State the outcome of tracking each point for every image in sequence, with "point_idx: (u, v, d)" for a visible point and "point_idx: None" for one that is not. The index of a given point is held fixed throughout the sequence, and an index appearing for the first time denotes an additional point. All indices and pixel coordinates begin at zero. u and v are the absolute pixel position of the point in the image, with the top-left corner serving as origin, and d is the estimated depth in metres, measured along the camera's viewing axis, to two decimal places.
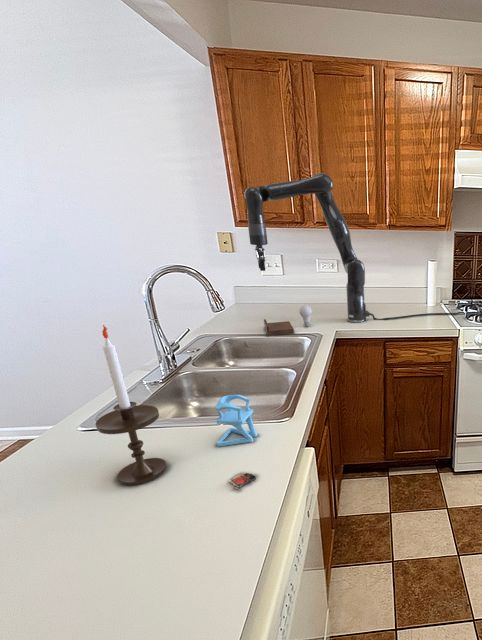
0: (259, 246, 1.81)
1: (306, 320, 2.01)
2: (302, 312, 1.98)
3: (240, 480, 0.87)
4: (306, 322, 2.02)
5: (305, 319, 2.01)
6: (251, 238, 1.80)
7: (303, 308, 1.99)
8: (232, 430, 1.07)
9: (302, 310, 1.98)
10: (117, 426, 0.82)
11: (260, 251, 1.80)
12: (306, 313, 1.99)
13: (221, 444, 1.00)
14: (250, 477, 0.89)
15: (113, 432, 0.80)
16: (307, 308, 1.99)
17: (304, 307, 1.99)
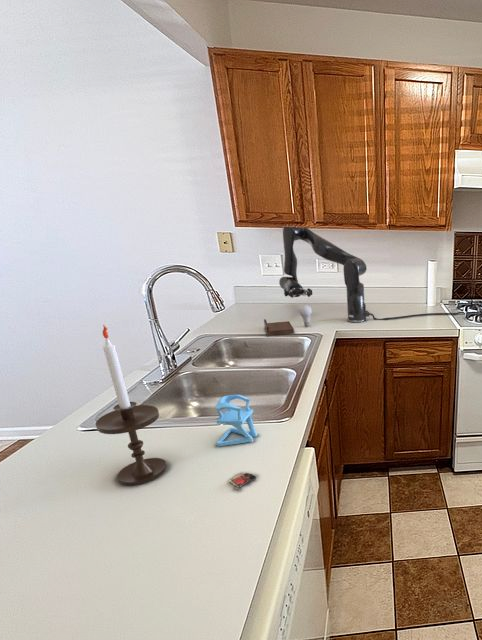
0: None
1: (306, 320, 2.01)
2: (302, 312, 1.98)
3: (240, 480, 0.87)
4: (306, 322, 2.02)
5: (305, 319, 2.01)
6: None
7: (303, 308, 1.99)
8: (232, 430, 1.07)
9: (302, 310, 1.98)
10: (117, 426, 0.82)
11: (284, 292, 2.12)
12: (306, 313, 1.99)
13: (221, 444, 1.00)
14: (250, 477, 0.89)
15: (113, 432, 0.80)
16: (307, 308, 1.99)
17: (304, 307, 1.99)
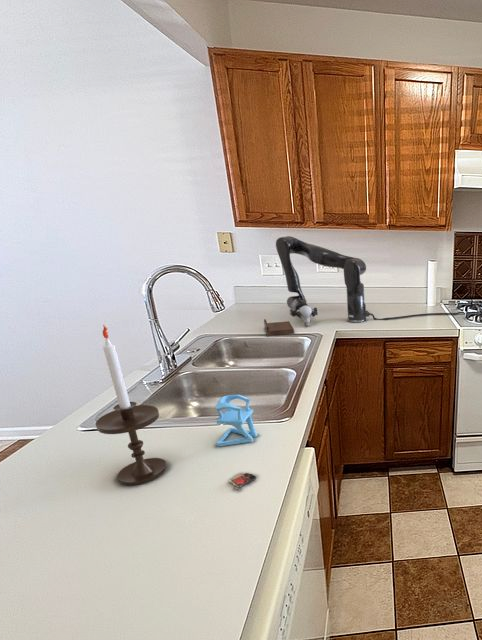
0: None
1: (306, 320, 2.01)
2: (302, 312, 1.98)
3: (240, 480, 0.87)
4: (306, 322, 2.02)
5: (305, 319, 2.01)
6: None
7: (303, 308, 1.99)
8: (232, 430, 1.07)
9: (302, 310, 1.98)
10: (117, 426, 0.82)
11: (290, 312, 2.04)
12: (306, 313, 1.99)
13: (221, 444, 1.00)
14: (250, 477, 0.89)
15: (113, 432, 0.80)
16: (307, 308, 1.99)
17: (304, 307, 1.99)
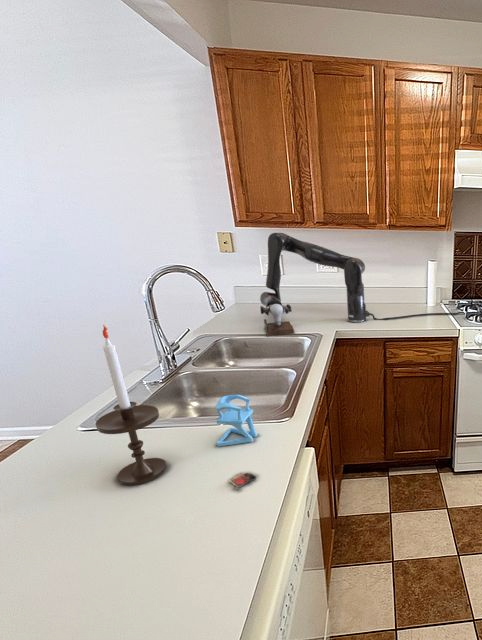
0: None
1: (277, 319, 1.92)
2: (272, 311, 1.89)
3: (240, 480, 0.87)
4: (277, 321, 1.93)
5: (276, 318, 1.92)
6: None
7: (273, 306, 1.89)
8: (232, 430, 1.07)
9: (272, 309, 1.89)
10: (117, 426, 0.82)
11: None
12: (276, 311, 1.89)
13: (221, 444, 1.00)
14: (250, 477, 0.89)
15: (113, 432, 0.80)
16: (278, 306, 1.90)
17: (274, 305, 1.90)
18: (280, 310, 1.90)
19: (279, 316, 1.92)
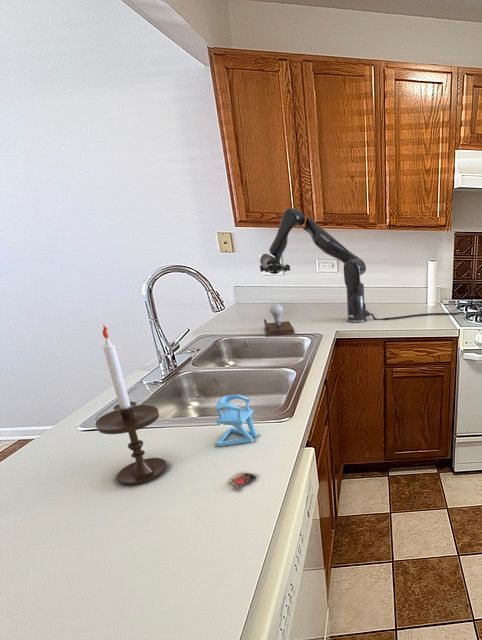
0: None
1: (277, 319, 1.92)
2: (272, 311, 1.89)
3: (240, 480, 0.87)
4: (277, 321, 1.93)
5: (276, 318, 1.92)
6: None
7: (273, 306, 1.89)
8: (232, 430, 1.07)
9: (272, 309, 1.89)
10: (117, 426, 0.82)
11: None
12: (276, 311, 1.89)
13: (221, 444, 1.00)
14: (250, 477, 0.89)
15: (113, 432, 0.80)
16: (278, 306, 1.90)
17: (274, 305, 1.90)
18: (280, 310, 1.90)
19: (279, 316, 1.92)
